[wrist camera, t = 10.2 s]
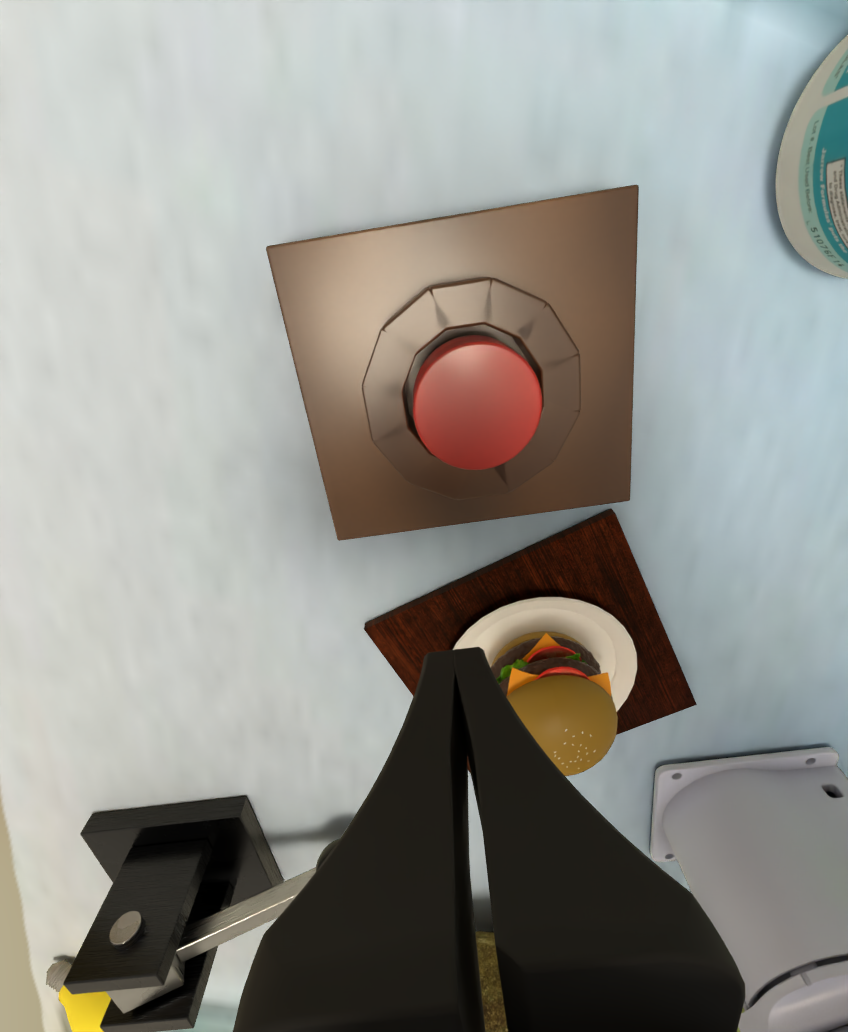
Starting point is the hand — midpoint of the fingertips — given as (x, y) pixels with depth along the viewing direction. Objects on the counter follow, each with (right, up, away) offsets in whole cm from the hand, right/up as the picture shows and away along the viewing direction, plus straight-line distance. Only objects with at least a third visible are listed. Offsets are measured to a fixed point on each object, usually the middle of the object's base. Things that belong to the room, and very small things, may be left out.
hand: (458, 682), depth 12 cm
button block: (+1, +9, +7) cm, 11 cm away
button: (+1, +8, +3) cm, 8 cm away
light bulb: (-23, -27, +22) cm, 41 cm away
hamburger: (+5, -3, +13) cm, 14 cm away
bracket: (-15, -16, +18) cm, 28 cm away
